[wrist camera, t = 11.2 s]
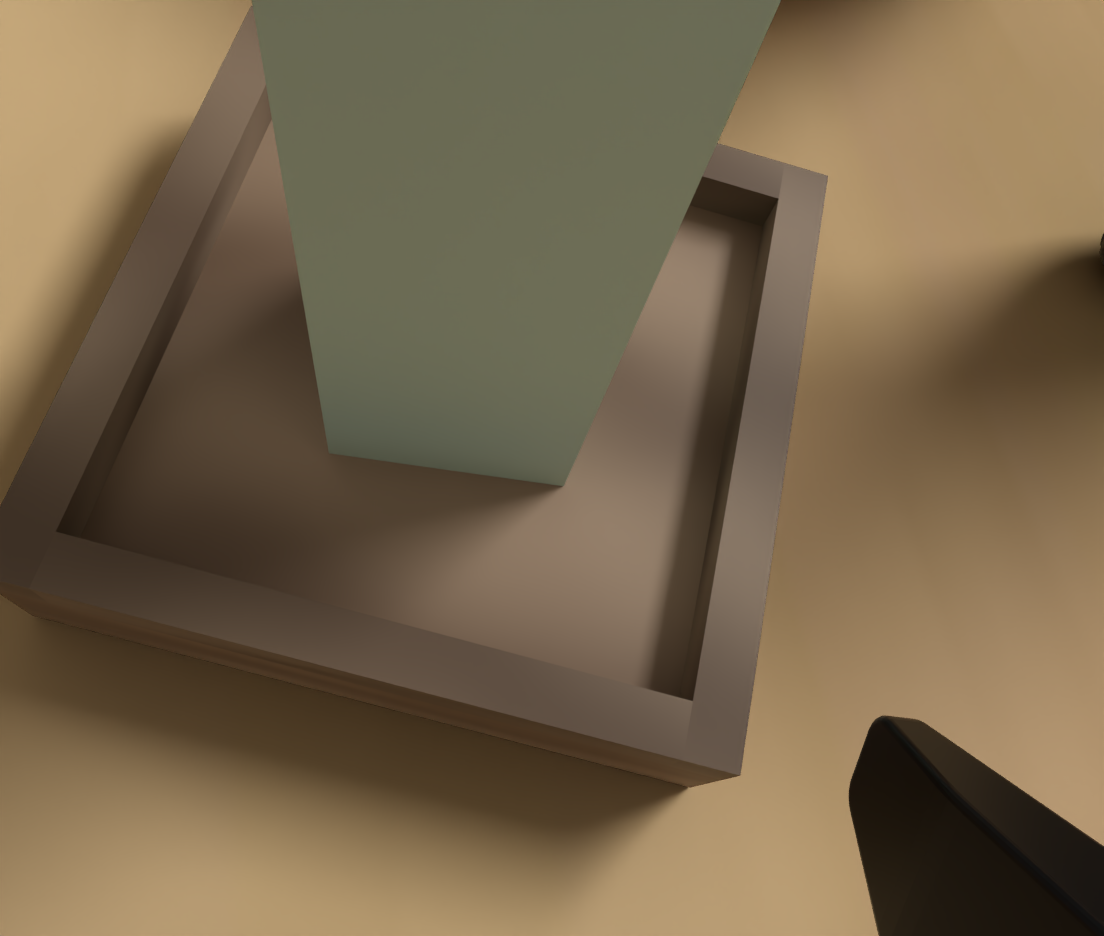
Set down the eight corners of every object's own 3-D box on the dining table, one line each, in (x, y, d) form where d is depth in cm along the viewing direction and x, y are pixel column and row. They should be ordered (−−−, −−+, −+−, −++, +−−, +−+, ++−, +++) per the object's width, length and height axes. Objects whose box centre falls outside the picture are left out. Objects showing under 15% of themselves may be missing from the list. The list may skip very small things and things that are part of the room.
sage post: (563, 486, 19) (860, -177, 7) (328, 453, 18) (195, -322, 6) (582, 289, 20) (843, -516, 8) (368, 255, 20) (323, -649, 8)
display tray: (690, 787, 19) (740, 775, 16) (32, 615, 18) (-33, 572, 15) (778, 253, 24) (827, 175, 21) (268, 106, 23) (251, 5, 21)
